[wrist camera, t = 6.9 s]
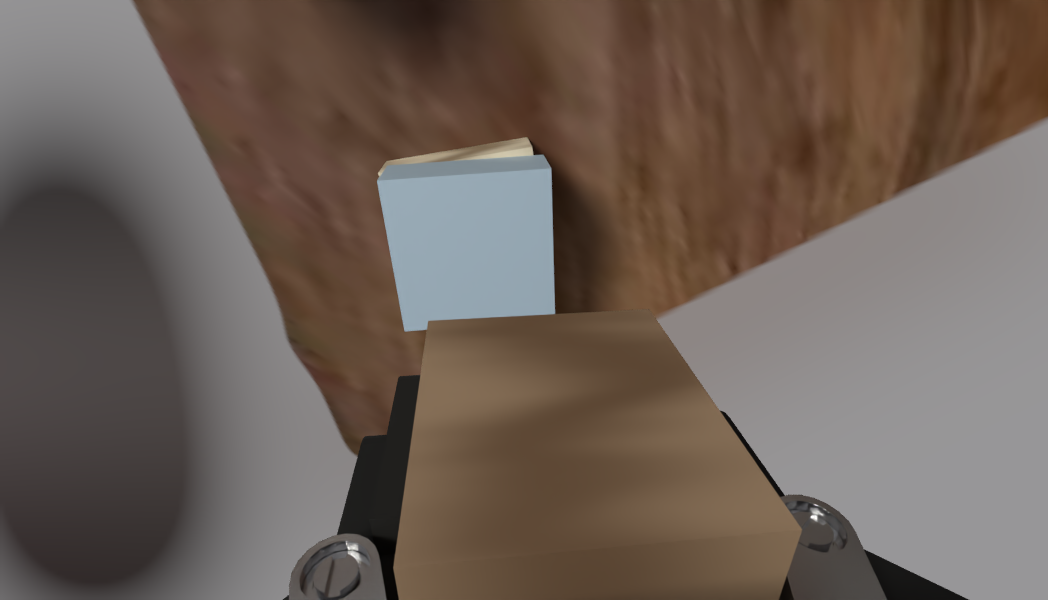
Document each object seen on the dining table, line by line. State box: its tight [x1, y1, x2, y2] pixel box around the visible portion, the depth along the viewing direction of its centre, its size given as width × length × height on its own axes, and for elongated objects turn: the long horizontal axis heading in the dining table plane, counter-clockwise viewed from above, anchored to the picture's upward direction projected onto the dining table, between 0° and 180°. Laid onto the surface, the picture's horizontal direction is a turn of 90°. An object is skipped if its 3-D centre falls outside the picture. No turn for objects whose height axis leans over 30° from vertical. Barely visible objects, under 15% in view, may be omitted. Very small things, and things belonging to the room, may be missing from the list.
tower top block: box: [377, 155, 555, 331], centre depth 30 cm, size 9×9×4 cm
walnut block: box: [393, 309, 802, 600], centre depth 10 cm, size 5×5×6 cm
